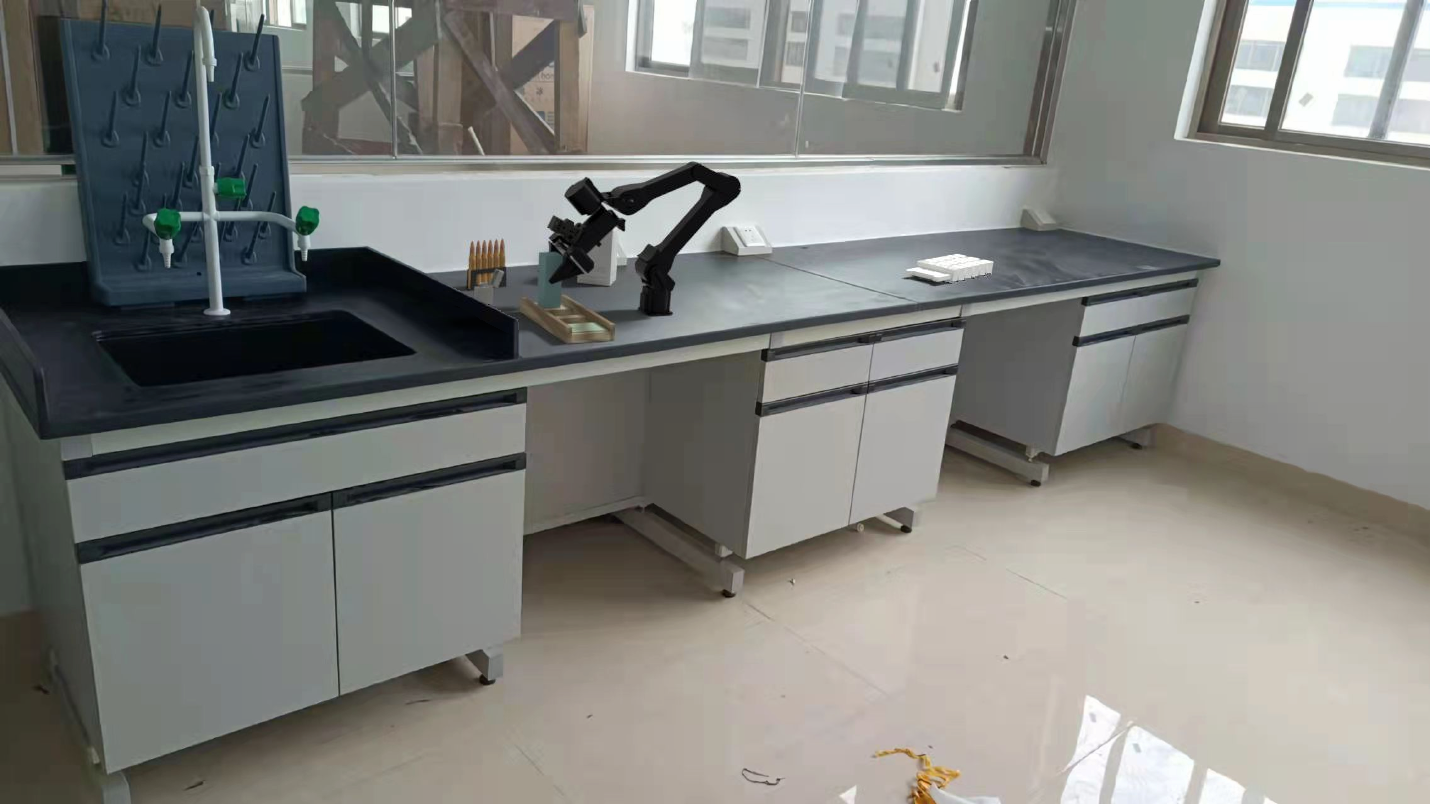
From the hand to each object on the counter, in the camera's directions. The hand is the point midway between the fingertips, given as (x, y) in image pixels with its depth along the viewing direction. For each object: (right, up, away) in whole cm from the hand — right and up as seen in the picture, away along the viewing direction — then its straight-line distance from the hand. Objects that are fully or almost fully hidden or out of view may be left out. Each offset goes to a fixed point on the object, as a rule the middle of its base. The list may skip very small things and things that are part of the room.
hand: (544, 277), depth 225 cm
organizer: (+113, +11, +93) cm, 146 cm away
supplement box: (+7, +4, +40) cm, 40 cm away
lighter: (-14, -5, +7) cm, 17 cm away
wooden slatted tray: (+5, -11, -3) cm, 12 cm away
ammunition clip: (-18, 0, +22) cm, 28 cm away
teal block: (+1, -6, +3) cm, 7 cm away
